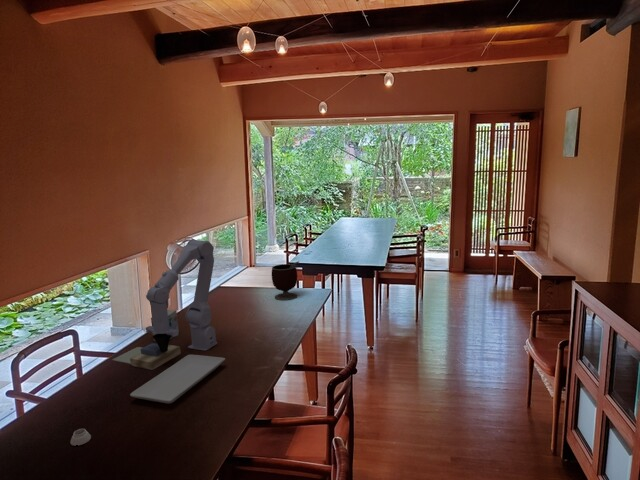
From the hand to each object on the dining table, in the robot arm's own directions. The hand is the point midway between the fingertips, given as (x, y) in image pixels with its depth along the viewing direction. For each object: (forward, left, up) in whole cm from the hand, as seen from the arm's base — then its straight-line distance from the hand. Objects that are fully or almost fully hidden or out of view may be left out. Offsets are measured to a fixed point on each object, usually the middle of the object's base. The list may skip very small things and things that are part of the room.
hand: (164, 351), depth 175 cm
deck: (+5, 0, -4) cm, 6 cm away
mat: (+16, 0, -4) cm, 17 cm away
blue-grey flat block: (+5, 0, -1) cm, 5 cm away
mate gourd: (-6, -86, -4) cm, 86 cm away
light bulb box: (+18, -20, -4) cm, 27 cm away
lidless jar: (-15, +48, -4) cm, 50 cm away
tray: (-19, +12, -5) cm, 22 cm away
